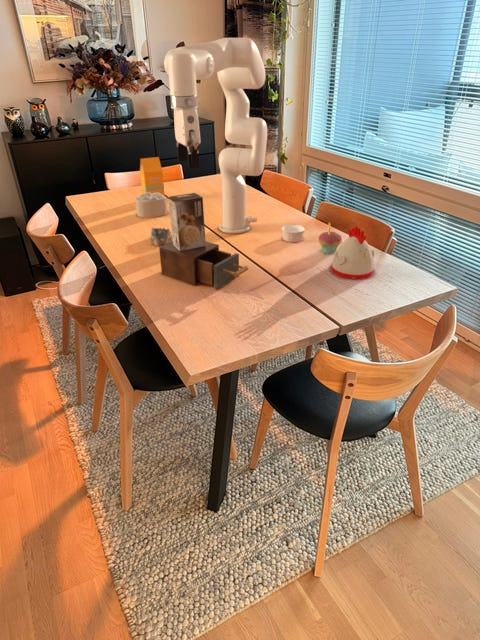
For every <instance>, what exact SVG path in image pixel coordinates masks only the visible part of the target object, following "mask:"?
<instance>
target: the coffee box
mask: <svg viewBox="0 0 480 640" xmlns="http://www.w3.org/2000/svg"><path fill="white" fill-rule="evenodd" d="M203 198H204V197H202V196H201V195H200V194H198V193H196V192H190V193H184V194H177V195H171V196H168V202H169V203H168V204H169V206H168V208H169V217H170V227H171V235H172V236H171V237H172V241H173V245H174V246H175V247H176V248H177V249H178V250H179V251H184V250H189V249H194V248H199V247H204V246H206V242H207V241H206V227H205V215H204V213H205V212H204V199H203ZM205 241H206V242H205Z"/></svg>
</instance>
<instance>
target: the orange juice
mask: <svg viewBox="0 0 480 640" xmlns="http://www.w3.org/2000/svg"><path fill="white" fill-rule="evenodd" d="M139 173H140V174H139V175H140V183H141V191H142V194H144V193H146V192H150V193H151V194H152V193H155V192H158V193H160V194H162V195H163V196H165V197H166V195H165V186H164V175H163V173H164V172H163V169H162V164H161V160H160V157H159V156H155V157H143V158H140V162H139Z"/></svg>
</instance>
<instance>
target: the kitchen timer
mask: <svg viewBox="0 0 480 640" xmlns="http://www.w3.org/2000/svg"><path fill="white" fill-rule="evenodd" d="M366 238H367V235H365V230H361V228H358V226H355V227H354V228H351V230H350V229H349V230H348V238H347V239H345V240H344V241H342V243H341V244H340V245H339V246H338V247H337V249H336V251H335V253H333V258H332V261H331V264H330V265H331V266H330V269H331V273H333V274H334V275H336V276H337V277H340V278H342V279H347V280H365V279H368V278H370V277H372V276H373V274H374V269H375V260H374V258H375V251H374V249H371V247H370V245H369V243H368V242H367V241H366Z"/></svg>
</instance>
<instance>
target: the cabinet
mask: <svg viewBox="0 0 480 640" xmlns="http://www.w3.org/2000/svg"><path fill="white" fill-rule="evenodd" d="M205 242H206V246H204V247H199V248H194V249H189V250H184V251H179V250H178V249H177V248H176V247H175V246H174V245H173V240H171V242H170V243H167V244H162V245H160V246H158V247H159V249H158V251H159V259H160V267H161V268H160V269H161V274H162V275H164V276H165V277H170V278H172V279H175V280H178V281H181V282H184V283H187V284H189V285H191V286H198V285H199V284H201V283H202V282H200V281H197V279H196V263H195V259H197V258H199V257H201V256H203V255H204V254H206V253H208V252H210V251H212V250H214V249H217V250H220V245H219V244H217V243H213V242H209V241H207V240H205Z"/></svg>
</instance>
